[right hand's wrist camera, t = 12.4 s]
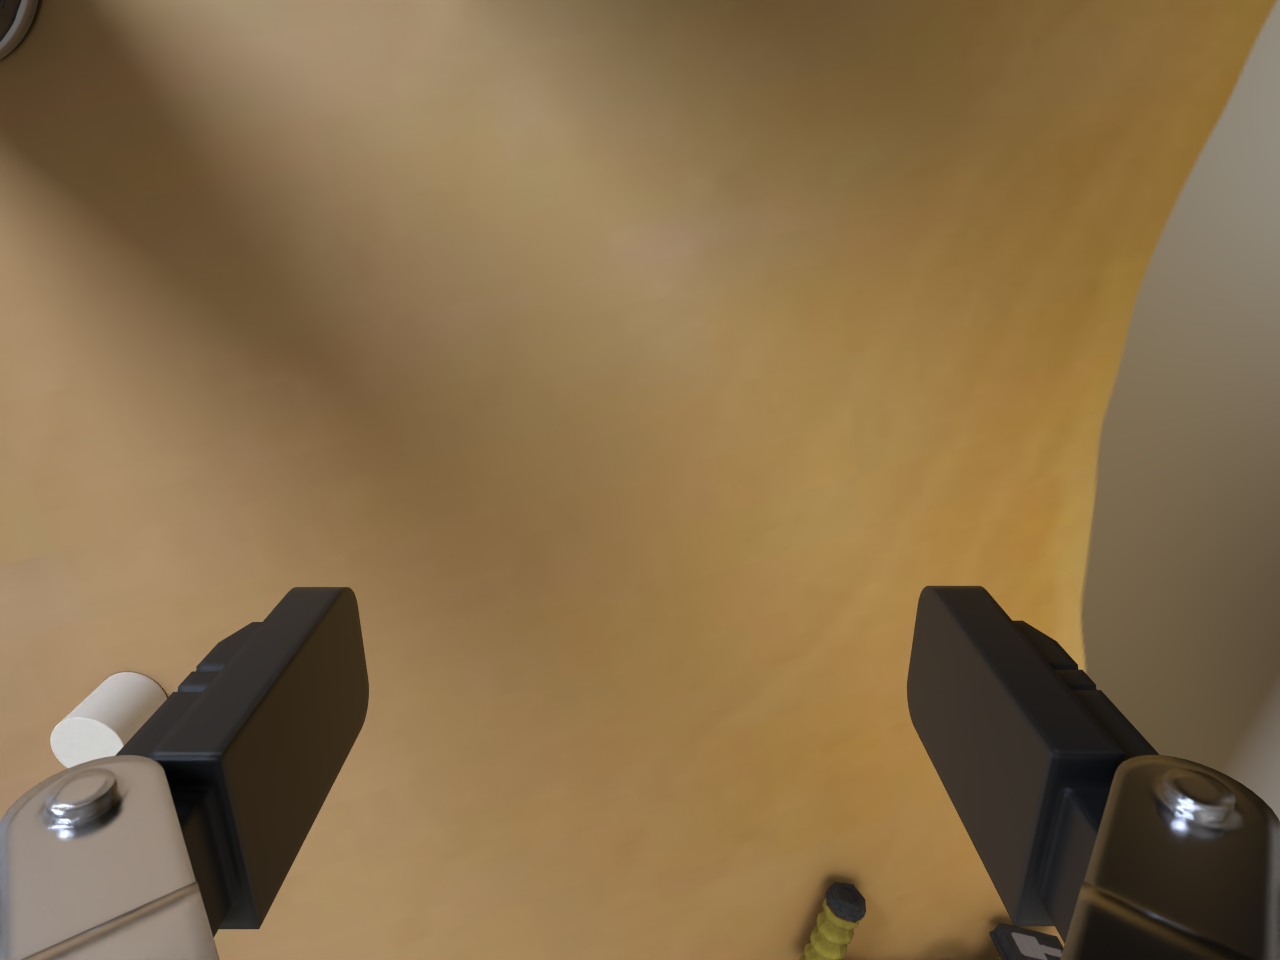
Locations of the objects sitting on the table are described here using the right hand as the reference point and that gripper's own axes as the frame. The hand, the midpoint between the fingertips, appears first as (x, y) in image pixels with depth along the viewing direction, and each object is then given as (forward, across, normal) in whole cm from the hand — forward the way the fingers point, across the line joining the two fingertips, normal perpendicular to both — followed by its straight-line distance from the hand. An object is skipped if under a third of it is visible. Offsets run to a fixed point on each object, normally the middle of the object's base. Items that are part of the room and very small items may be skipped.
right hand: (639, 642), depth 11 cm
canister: (+29, -30, -22) cm, 47 cm away
